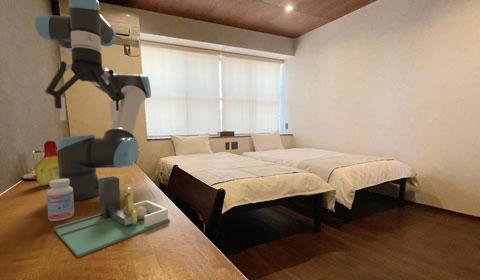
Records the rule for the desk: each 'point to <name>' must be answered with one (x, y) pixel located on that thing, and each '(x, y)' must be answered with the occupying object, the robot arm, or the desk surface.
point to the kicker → (116, 201)
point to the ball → (141, 213)
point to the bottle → (48, 165)
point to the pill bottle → (60, 200)
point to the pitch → (98, 233)
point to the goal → (152, 212)
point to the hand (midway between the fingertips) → (90, 120)
